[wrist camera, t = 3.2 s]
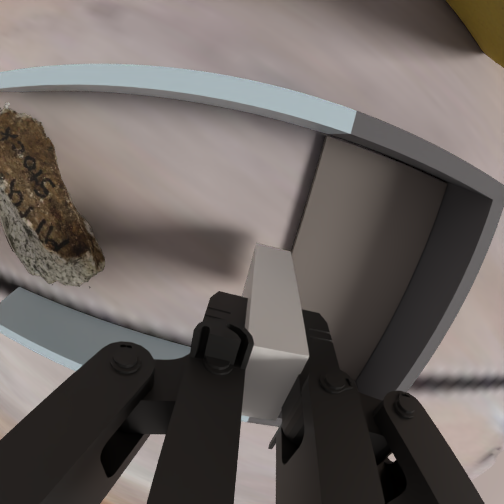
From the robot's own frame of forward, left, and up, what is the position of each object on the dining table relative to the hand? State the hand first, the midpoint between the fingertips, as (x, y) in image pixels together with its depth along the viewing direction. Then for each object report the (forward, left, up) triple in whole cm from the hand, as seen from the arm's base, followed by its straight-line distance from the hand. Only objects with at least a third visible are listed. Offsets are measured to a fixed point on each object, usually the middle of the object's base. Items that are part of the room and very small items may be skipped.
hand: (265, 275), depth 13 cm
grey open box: (+5, 0, -2) cm, 5 cm away
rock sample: (-12, 0, -2) cm, 12 cm away
